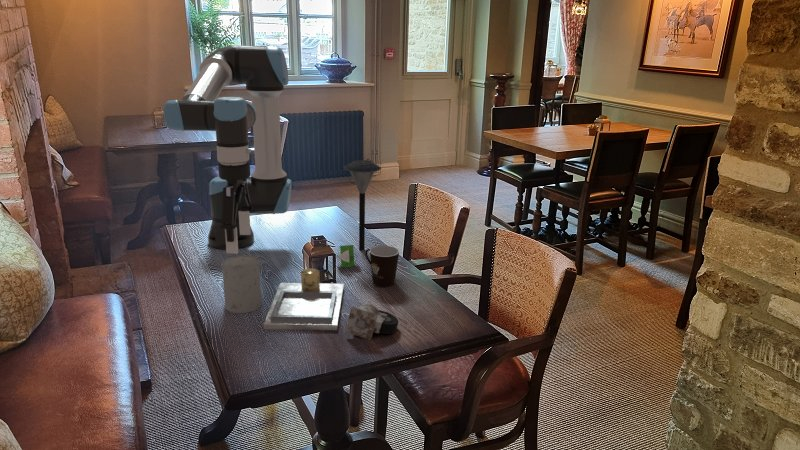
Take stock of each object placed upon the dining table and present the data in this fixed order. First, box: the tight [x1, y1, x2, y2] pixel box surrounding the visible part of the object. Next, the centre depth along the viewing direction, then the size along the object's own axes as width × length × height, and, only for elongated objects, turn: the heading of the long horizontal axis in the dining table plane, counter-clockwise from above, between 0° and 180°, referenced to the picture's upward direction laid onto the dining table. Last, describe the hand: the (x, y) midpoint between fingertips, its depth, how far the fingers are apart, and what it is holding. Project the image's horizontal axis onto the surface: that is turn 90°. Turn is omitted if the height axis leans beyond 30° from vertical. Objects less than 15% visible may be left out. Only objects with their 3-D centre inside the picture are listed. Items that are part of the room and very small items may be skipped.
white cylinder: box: [221, 255, 263, 314], centre depth 150 cm, size 10×10×12 cm
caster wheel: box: [345, 303, 400, 341], centre depth 141 cm, size 7×11×10 cm
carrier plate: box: [263, 268, 345, 331], centre depth 151 cm, size 24×18×6 cm
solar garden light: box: [343, 160, 382, 251], centre depth 188 cm, size 12×12×30 cm
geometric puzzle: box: [335, 244, 360, 268], centre depth 179 cm, size 7×7×8 cm
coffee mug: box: [364, 245, 400, 288], centre depth 168 cm, size 12×9×10 cm
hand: (239, 243), depth 146 cm, fingers open, 13 cm apart
